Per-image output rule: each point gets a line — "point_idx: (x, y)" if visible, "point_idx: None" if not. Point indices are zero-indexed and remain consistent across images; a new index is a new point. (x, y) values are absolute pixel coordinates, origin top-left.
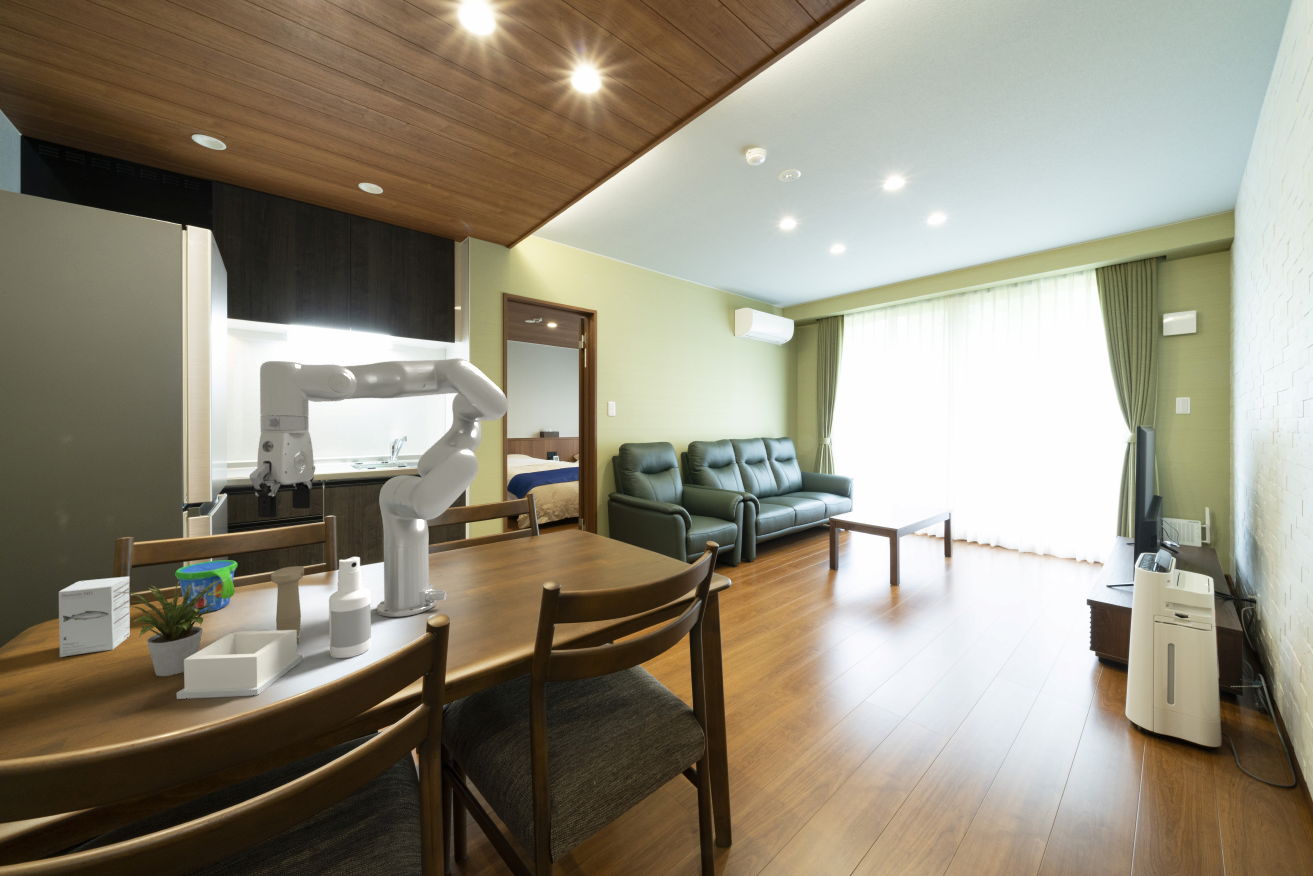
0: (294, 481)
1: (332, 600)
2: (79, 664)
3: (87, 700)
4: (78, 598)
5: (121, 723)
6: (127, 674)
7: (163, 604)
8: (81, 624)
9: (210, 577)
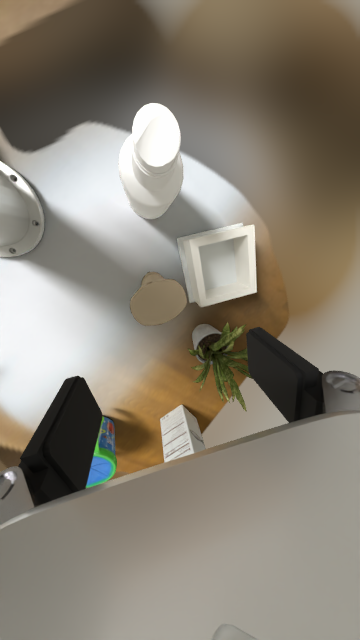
0: (279, 437)
1: (181, 185)
2: (202, 398)
3: (244, 342)
4: None
5: (270, 291)
6: None
7: None
8: (196, 431)
9: (101, 447)
